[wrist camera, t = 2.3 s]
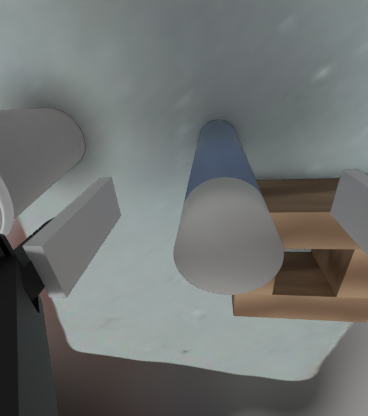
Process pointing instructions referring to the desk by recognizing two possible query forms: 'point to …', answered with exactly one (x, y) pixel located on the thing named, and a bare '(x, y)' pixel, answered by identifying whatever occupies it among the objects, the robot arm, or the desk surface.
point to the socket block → (309, 258)
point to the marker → (225, 220)
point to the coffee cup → (34, 156)
